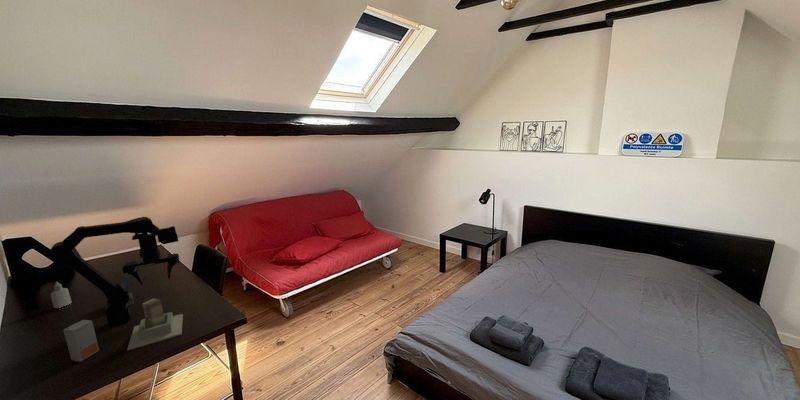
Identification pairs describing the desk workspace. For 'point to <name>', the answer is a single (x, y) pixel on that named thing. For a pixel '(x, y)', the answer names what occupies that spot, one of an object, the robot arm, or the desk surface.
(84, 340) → the skincare box
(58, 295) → the eye dropper bottle
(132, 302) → the label tape cartridge
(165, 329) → the socket board
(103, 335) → the desk surface
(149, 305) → the ash peg
